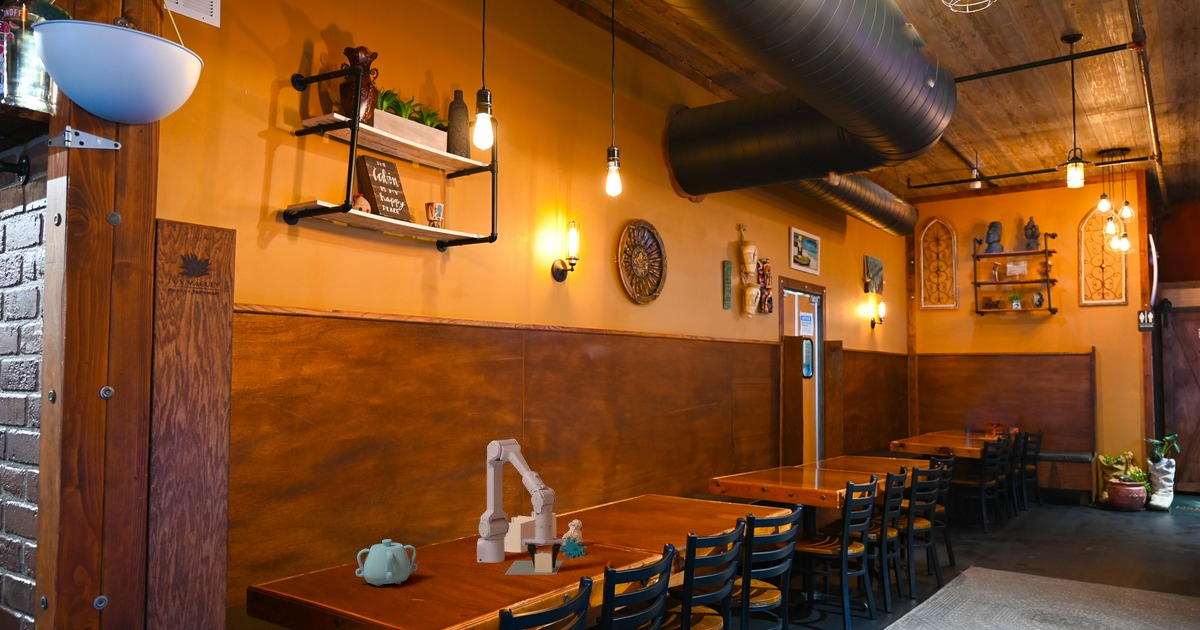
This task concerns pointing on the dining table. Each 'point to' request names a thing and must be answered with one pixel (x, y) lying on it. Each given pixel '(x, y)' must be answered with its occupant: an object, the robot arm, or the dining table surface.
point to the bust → (574, 531)
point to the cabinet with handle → (543, 562)
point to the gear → (573, 548)
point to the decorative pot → (386, 563)
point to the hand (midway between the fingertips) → (544, 567)
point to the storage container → (522, 532)
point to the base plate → (529, 568)
